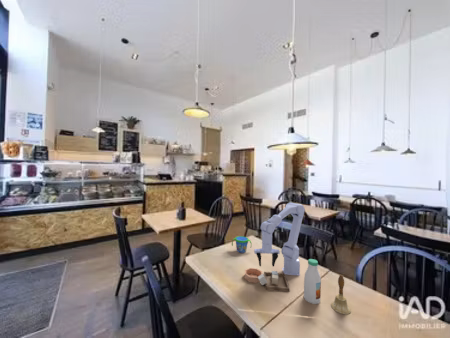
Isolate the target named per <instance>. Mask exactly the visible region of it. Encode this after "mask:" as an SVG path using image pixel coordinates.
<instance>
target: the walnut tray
mask: <svg viewBox="0 0 450 338" xmlns="http://www.w3.org/2000/svg"><path fill="white" fill-rule="evenodd" d="M263 275H264V277H265V279H266V280H267V283H265V284H264V288H265V290H268V291H278V292H279V291H280V292H290V286H289V283H288V280H287V277H286V274H285V273H284V272H278V285H277V284H272V277H271V275H272V271H263Z"/></svg>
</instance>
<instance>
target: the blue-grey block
mask: <svg viewBox="0 0 450 338" xmlns="http://www.w3.org/2000/svg"><path fill="white" fill-rule="evenodd" d="M271 272H272V275H278V273H279V272H278V271H277V270H276V271H275V270H271ZM272 275H271V277H272Z"/></svg>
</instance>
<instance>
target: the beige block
mask: <svg viewBox="0 0 450 338" xmlns="http://www.w3.org/2000/svg"><path fill="white" fill-rule="evenodd" d="M272 284H277V285H278V275H272Z"/></svg>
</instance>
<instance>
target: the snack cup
mask: <svg viewBox="0 0 450 338" xmlns="http://www.w3.org/2000/svg"><path fill="white" fill-rule="evenodd" d="M234 240H235V246H236V247H235V248H236V252H238V253H240V254H241V253H242V254H244V253H246V252H247V249H248V244H249V243H250V247H252V241H251V240H250V239H249V238H248V237H247V236H242V235H239V236H235V237H234V238H232V242H231V247H233V246H234Z"/></svg>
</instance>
